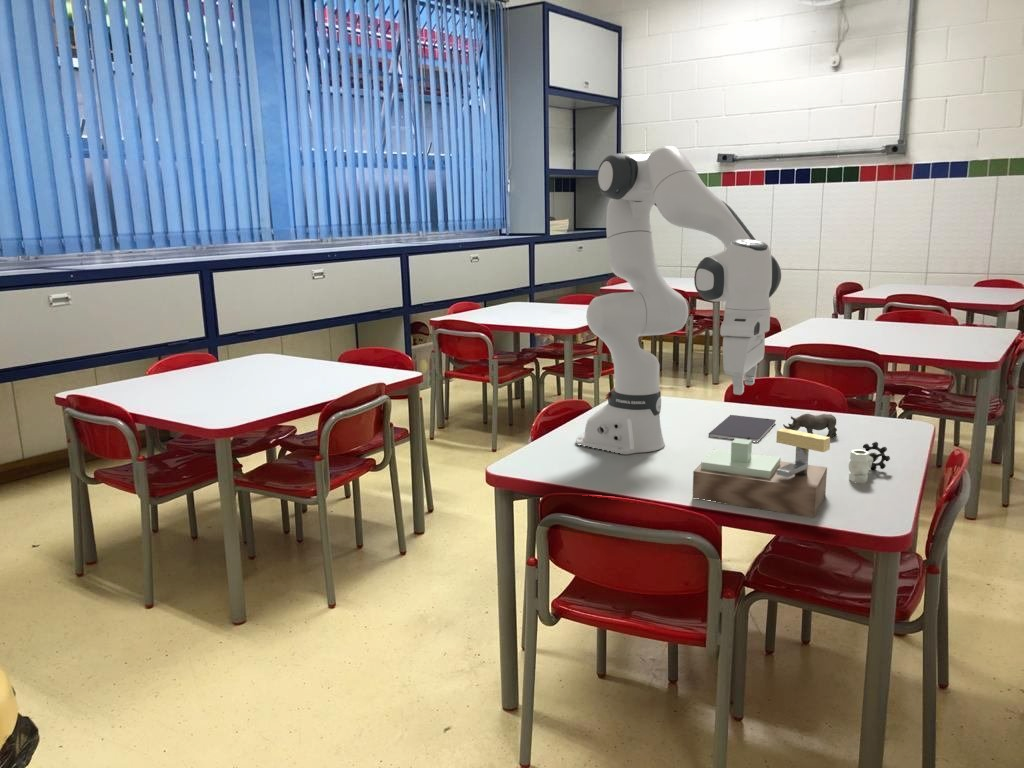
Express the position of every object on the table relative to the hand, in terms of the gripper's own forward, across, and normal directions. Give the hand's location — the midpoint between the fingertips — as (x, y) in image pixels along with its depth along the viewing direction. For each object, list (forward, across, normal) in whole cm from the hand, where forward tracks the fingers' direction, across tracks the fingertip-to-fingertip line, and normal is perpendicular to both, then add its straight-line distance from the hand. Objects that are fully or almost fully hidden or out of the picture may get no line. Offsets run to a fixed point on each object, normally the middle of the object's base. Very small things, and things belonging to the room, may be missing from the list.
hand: (744, 389), depth 165 cm
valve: (+23, -23, +22) cm, 39 cm away
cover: (+17, 0, 0) cm, 17 cm away
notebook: (+23, -50, -11) cm, 56 cm away
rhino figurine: (+23, -51, +6) cm, 56 cm away
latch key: (+16, +3, +11) cm, 20 cm away
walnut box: (+23, 0, +4) cm, 23 cm away
